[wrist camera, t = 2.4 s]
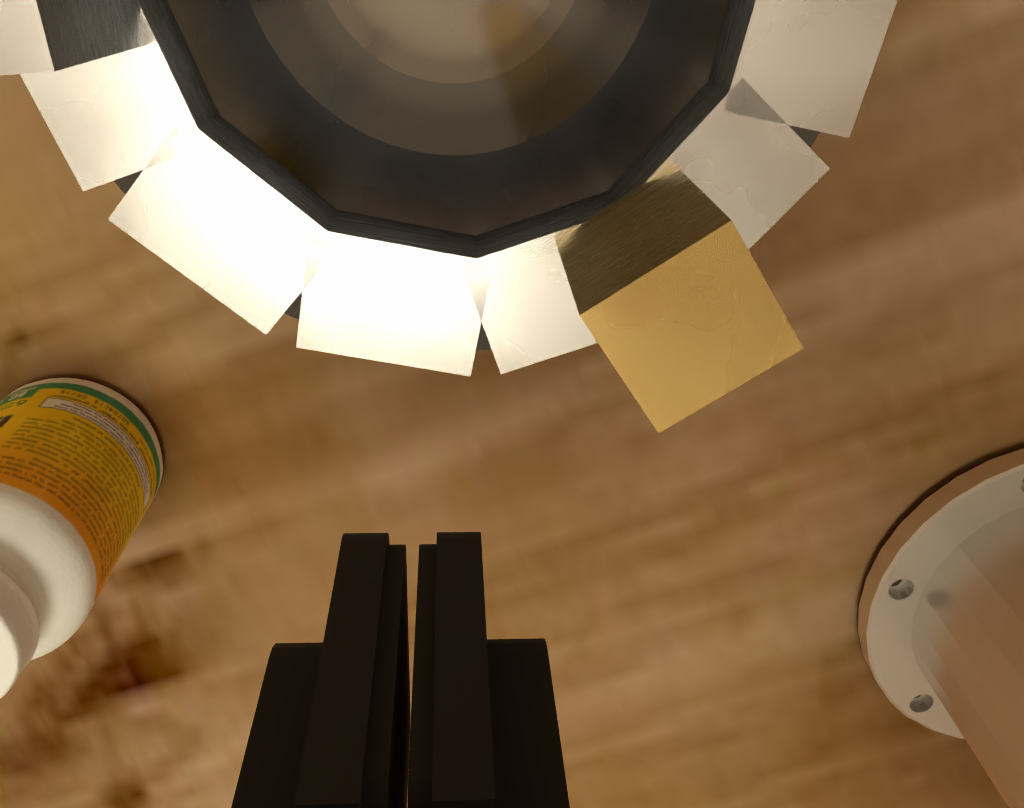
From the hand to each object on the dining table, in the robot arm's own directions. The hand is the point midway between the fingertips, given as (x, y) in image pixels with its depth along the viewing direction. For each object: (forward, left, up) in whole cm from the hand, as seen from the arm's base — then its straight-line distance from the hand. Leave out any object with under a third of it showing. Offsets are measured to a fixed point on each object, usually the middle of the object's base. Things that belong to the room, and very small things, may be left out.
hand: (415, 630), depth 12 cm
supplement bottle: (+10, +9, -18) cm, 22 cm away
